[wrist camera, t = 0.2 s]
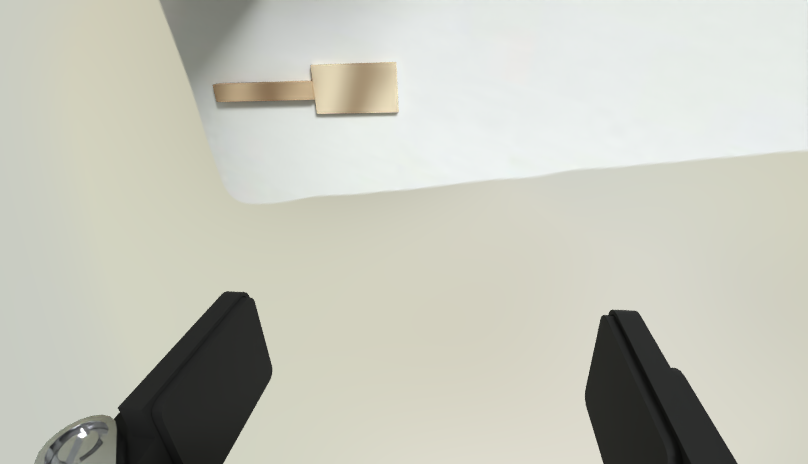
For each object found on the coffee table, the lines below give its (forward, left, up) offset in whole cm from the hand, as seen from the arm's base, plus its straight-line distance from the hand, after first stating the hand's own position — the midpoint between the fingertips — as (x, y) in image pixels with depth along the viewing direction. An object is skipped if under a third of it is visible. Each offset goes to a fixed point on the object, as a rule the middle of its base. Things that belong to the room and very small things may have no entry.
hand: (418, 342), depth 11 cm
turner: (-3, -14, -31) cm, 34 cm away
